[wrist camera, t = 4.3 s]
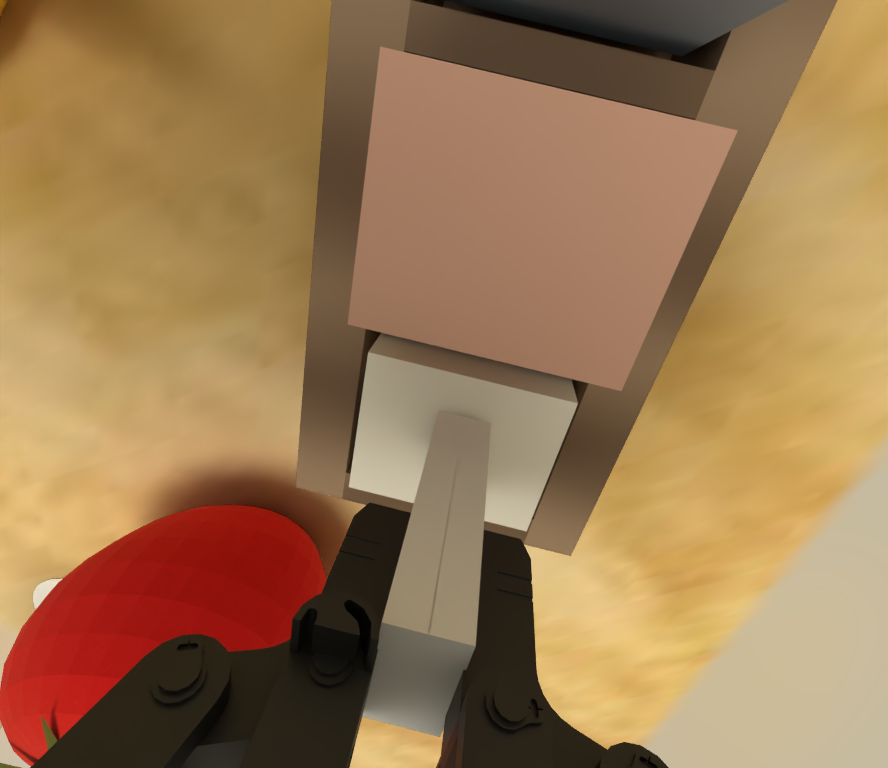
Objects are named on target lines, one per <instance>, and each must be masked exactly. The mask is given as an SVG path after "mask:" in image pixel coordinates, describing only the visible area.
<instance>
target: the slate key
mask: <svg viewBox="0 0 888 768" xmlns="http://www.w3.org/2000/svg"><path fill="white" fill-rule="evenodd" d="M443 1H447V2H451V3H456V4H460V5H464V6H469V7H473V8H477V9H481V10H486V11H490V12H494V13H499V14H503V15H507V16H511V17H516V18H520V19H524V20H529V21H533V22H537V23H541V24H546V25H550V26H554V27H559V28H563V29H567V30H571V31H576V32H580V33H584V34H589V35H593V36H597V37H601V38H606V39H610V40H614V41H619V42H623V43H627V44H631V45H636V46H640V47H644V48H649V49H653V50H657V51H661V52H666V53H670V54H674V55H679V56H683V55H685V54H687V53H689V52H691V51H693V50H695V49H697V48H699V47H700V46H702V45H704V44H706V43H708V42H710V41H712V40H714V39H716V38H718V37H720V36H722V35H723V34H725V33H727V32H729V31H731V30H733V29H735V28H737V27H739V26H741V25H743V24H745V23H746V22H748V21H750V20H752V19H754V18H756V17H758V16H760V15H762V14H764V13H766V12H768V11H769V10H771V9H773V8H775V7H777V6H779V5H781V4H783V3H785V2H787V1H789V0H443Z"/></svg>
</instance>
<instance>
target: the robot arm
mask: <svg viewBox="0 0 888 768" xmlns="http://www.w3.org/2000/svg"><path fill="white" fill-rule="evenodd" d="M490 431H491V423H487V422H483V421H479V420H475V419H471V418H467V417H463V416H459V415H455V414H451V413H446V412H442V411H439V412H438V416H437V420H436V423H435V427H434V431H433V435H432V438H431V442H430V446H429V449H428V453H427V457H426V460H425V464H424V468H423V471H422V475H421V479H420V483H419V486H418V490H417V494H416V497H415V501H414V505H413V508H412V512H411V513H410V512H406V511H402V510H398V509H394V508H390V507H386V506H382V505H378V504H374V503H368V504H367V505H366V506H365V507H364V508H363V509H362V510H360V511H359V512H358V513H357V514H356V515H355V516H354V518H353V520H352V522H351V525H350V527H349V529H348V532H347V534H346V537H345V539H344V541H343V543H342V546H341V548H340V551H339V554H338V555H337V558H336V560H335V562H334V565H333V567H332V569H331V572H330V574H329V577H328V579H327V581H326V584H325V586H324V588H323V591H322V593H321V594H318V595H316V596H314V597H313V598H311V599H310V600H308V601H307V602H305V603H304V604H303V605H302V606H301V607H300V609H299V610H298V611H297V613H296V614H295V616H294V617H293V618H292V629H291V638H290V639H289V640H288V641H285V642H283V643H281V644H278V645H276V646H273V647H268V648H263V649H253V650H241V651H230V652H227V649H226V648H225V647H224V646H223V645H222V644H221V643H220V642H219V641H218V640H217V639H216V638H213V637H210V636H206V635H203V634H190V635H181V636H178V637H176V638H173V639H171V640H168V641H165V642H163V643H161V644H160V645H159V646H157V647H156V648H155V649H153V650H152V651H151V652H149V653H148V654H147V655H145V656H144V657H143V658H142V659H141V660H140V661H139V662H138V663H137V664H136V665H135V666H134V667H133V668H132V669H131V670H130V671H129V672H128V673H127V674H126V675H125V676H124V677H123V678H122V679H121V680H120V681H119V682H118V683H117V684H116V685H114V686H113V687H112V688H111V689H110V690H109V691H108V692H107V693H106V694H105V695H104V696H103V697H102V698H101V699H100V700H99V701H98V702H97V703H96V704H95V705H94V706H93V707H92V708H91V709H90V710H89V711H88V712H87V713H86V714H85V715H84V716H83V717H82V718H81V719H80V720H79V721H78V722H77V723H76V724H75V725H73V726H72V727H71V728H70V729H69V730H68V731H67V732H66V733H65V734H64V735H63V736H62V737H61V738H60V739H59V740H58V741H57V742H56V743H55V744H54V745H53V746H52V747H51V748H50V749H49V750H48V751H47V752H46V753H45V754H44V755H43V756H42V757H41V758H40V759H39V760H38V761H37V762H36V763H35V764H34V765H33V766H31V767H30V768H349V767H350V763H351V759H352V755H353V750H354V746H355V742H356V738H357V734H358V730H359V726H360V723H361V719H362V717H365V718H369V719H373V720H377V721H380V722H384V723H388V724H392V725H396V726H400V727H404V728H407V729H411V730H415V731H419V732H423V733H427V734H431V735H434V736H438V737H440V736H441V733H442V731H443V728H444V733H443V742H442V751H441V757H440V759H439V762H438V764H437V767H436V768H668V767H667V766H666V764H665V763H664V762H663V761H662V760H661V759H660V758H659V757H658V756H657V755H655V754H653V753H652V752H650V751H649V750H647V749H645V748H644V747H642V746H641V745H636V744H631V743H626V742H623V743H620V744H616V745H613V746H611V747H610V748H609V749H608V750H607V749H605V748H604V747H602V746H601V745H599V744H598V743H596V742H595V741H593V740H591V739H590V738H588V737H587V736H585V735H584V734H582V733H580V732H579V731H577V730H576V729H574V728H573V727H571V726H570V725H569V724H568V723H566V722H565V721H564V720H562V719H561V718H560V717H559V715H558V714H557V713H556V712H555V711H554V710H553V709H552V708H551V706H550V705H549V703H548V701H547V700H546V698H545V696H544V695H543V692H542V690H541V687H540V685H539V682H538V676H537V670H536V653H535V633H534V613H533V602H532V598H533V593H532V584H531V581H532V573H531V559H530V557H529V554H528V552H527V550H526V548H525V546H524V544H523V542H522V540H521V539H519V538H515V537H511V536H507V535H503V534H499V533H495V532H491V531H487V530H484V518H485V504H486V489H487V475H488V460H489V446H490Z"/></svg>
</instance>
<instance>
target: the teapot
mask: <svg viewBox="0 0 888 768" xmlns="http://www.w3.org/2000/svg"><path fill="white" fill-rule="evenodd" d="M7 1H8V0H0V17H1V15H2V12H3V10H4V8H5V6H6V3H7Z"/></svg>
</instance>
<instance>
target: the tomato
mask: <svg viewBox="0 0 888 768" xmlns="http://www.w3.org/2000/svg"><path fill="white" fill-rule="evenodd" d="M325 584H326V576H325V572H324V568H323V564H322V561H321V558H320V556H319V553H318V550H317V548H316V546H315V545H314V543H313V541H312V540H311V538H310V537H309V536H308V535H307V534H306V533H305V532H304V530H303V529H302V528H301V527H300V526H298V525H297V524H295V523H294V522H292V521H291V520H290V519H288V518H287V517H285V516H282V515H280V514H278V513H275V512H273V511H270V510H267V509H262V508H257V507H252V506H241V505H211V506H205V507H199V508H193V509H190V510H186V511H182V512H178V513H175V514H172V515H169V516H166V517H163V518H160V519H158V520H155V521H153V522H151V523H149V524H147V525H145V526H143V527H141V528H139V529H137V530H135V531H133V532H131V533H129V534H128V535H126V536H124V537H122V538H120V539H119V540H117V541H115V542H113V543H112V544H110V545H109V546H107V547H106V548H104V549H102V550H101V551H99V552H98V553H96V554H94V555H93V556H91V557H90V558H88V559H87V560H85V561H84V562H83V563H82V564H80V565H79V566H78V567H77V568H75V569H74V570H73V571H72V572H71V573H69V574H68V575H67V576H66V577H64V578H63V579H62V580H61V581H59V582H58V583H57V584H56V586H55V587H54V588H53V589H52V590H51V591H50V593H49V594H48V595H47V596H46V597H45V598H44V600H43V601H42V602H41V604H40V605H39V606H38V608H37V609H36V610H35V611H34V613H33V614H32V615H31V617H30V618H29V619H28V621H27V622H26V623H25V624H24V626H23V627H22V628H21V631H20V633H19V635H18V637H17V639H16V641H15V643H14V645H13V647H12V649H11V651H10V653H9V655H8V657H7V660H6V662H5V664H4V670H3V676H2V681H1V687H0V721H1V723H2V726H3V728H4V731H5V733H6V735H7V738H8V740H9V742H10V744H11V746H12V748H13V751H14V752H15V753H16V754H17V755H18V756H19V757H20V758H21V759H22V760H23V761H25V762H26V763H27V764H28V765H30V766H33V765H34V764H35V763H36V762H37V761H38V760H39V759H40V758H41V757H42V756H43V755H44V754H45V753H46V752H47V751H48V750H49V749H50V748H51V747H52V746H53V745H54V744H55V743H56V742H57V741H58V740H59V739H60V738H61V737H62V736H63V735H64V734H65V733H66V732H67V731H68V730H69V729H70V728H71V727H72V726H73V725H75V724H76V723H77V722H78V721H79V720H80V719H81V718H82V717H83V716H84V715H85V714H86V713H87V712H88V711H89V710H90V709H91V708H92V707H93V706H94V705H95V704H96V703H97V702H98V701H99V700H100V699H101V698H102V697H103V696H104V695H105V694H106V693H107V692H108V691H109V690H110V689H111V688H112V687H113V686H114V685H116V684H117V683H118V682H119V681H120V680H121V679H122V678H123V677H124V676H125V675H126V674H127V673H128V672H129V671H130V670H131V669H132V668H133V667H134V666H135V665H136V664H137V663H138V662H139V661H140V660H141V659H142V658H143V657H144V656H145V655H147V654H148V653H149V652H151V651H152V650H153V649H155V648H156V647H157V646H159V645H160V644H161V643H163V642H165V641H168V640H171V639H173V638H176V637H178V636H181V635H190V634H203V635H206V636H210V637H213V638H216V639H217V640H218V641H219V642H220V643H221V644H222V645H223V646H224V647H225V648H226V649H227V652H230V651H241V650H253V649H263V648H268V647H273V646H276V645H278V644H281V643H283V642H285V641H288V640H289V639H290V638H291V629H292V618H293V617H294V616H295V614H296V613H297V611H298V610H299V609H300V607H301V606H302V605H303V604H304V603H305V602H307V601H308V600H310V599H311V598H313V597H314V596H316V595H318V594H321V593H322V591H323V588H324V586H325ZM0 768H20V767H15V766H11V765H7V764H2V763H0Z"/></svg>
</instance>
